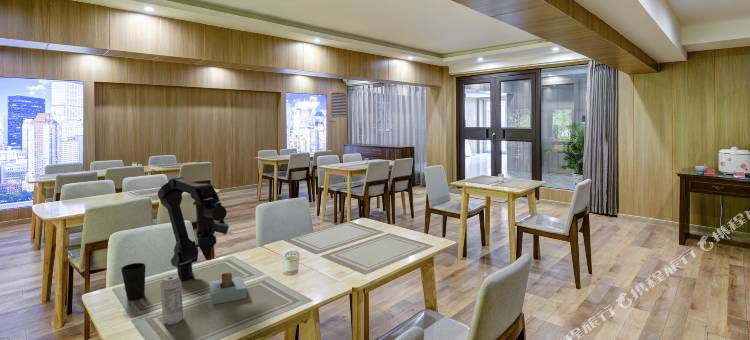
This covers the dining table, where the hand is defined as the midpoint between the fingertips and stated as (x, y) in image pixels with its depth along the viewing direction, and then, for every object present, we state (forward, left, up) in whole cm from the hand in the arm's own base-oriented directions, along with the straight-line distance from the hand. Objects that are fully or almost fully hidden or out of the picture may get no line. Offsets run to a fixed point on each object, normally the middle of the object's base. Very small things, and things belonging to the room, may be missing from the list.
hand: (206, 256), depth 157 cm
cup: (-3, -25, -13) cm, 28 cm away
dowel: (+10, +6, -13) cm, 17 cm away
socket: (+10, +6, -13) cm, 17 cm away
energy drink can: (+23, -12, -13) cm, 29 cm away
